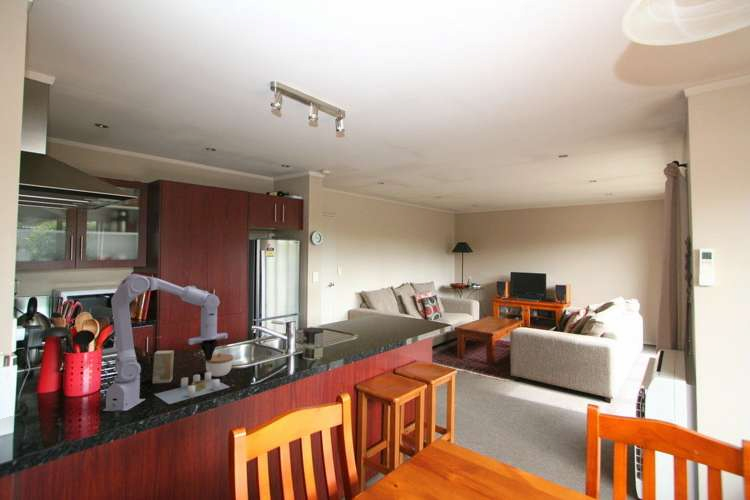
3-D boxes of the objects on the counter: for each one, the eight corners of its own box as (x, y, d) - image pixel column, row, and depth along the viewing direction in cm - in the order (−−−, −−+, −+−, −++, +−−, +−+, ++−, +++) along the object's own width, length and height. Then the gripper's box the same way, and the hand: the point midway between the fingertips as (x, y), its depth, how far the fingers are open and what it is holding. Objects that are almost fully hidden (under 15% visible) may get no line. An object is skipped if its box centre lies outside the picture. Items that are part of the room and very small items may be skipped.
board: (168, 405, 123) (169, 393, 123) (154, 395, 131) (154, 384, 131) (230, 388, 140) (230, 377, 140) (213, 380, 148) (213, 370, 148)
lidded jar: (199, 377, 152) (199, 354, 152) (219, 370, 162) (220, 348, 162) (217, 381, 148) (218, 358, 148) (238, 373, 157) (238, 352, 157)
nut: (204, 390, 136) (204, 384, 136) (189, 391, 135) (189, 384, 135) (207, 386, 140) (207, 380, 140) (193, 387, 139) (193, 380, 139)
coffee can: (303, 360, 178) (304, 332, 179) (301, 355, 188) (302, 327, 189) (324, 359, 182) (325, 331, 182) (321, 354, 191) (321, 327, 192)
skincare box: (152, 384, 142) (153, 353, 142) (155, 381, 146) (156, 350, 147) (170, 383, 144) (171, 352, 144) (173, 380, 148) (174, 349, 148)
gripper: (194, 328, 133) (193, 366, 133) (231, 323, 144) (231, 357, 144) (186, 326, 137) (185, 362, 137) (222, 321, 148) (222, 354, 148)
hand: (208, 359), depth 141 cm, fingers closed
